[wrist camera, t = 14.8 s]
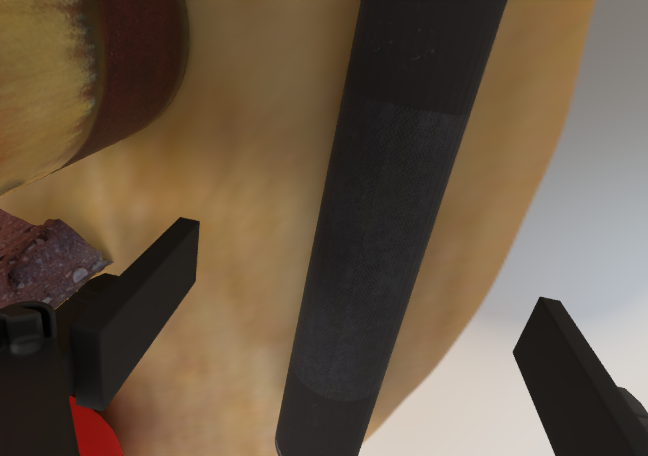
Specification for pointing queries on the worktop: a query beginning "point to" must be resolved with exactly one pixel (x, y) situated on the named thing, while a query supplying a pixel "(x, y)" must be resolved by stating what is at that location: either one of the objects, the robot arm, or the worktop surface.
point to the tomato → (93, 433)
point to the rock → (43, 261)
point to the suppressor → (379, 208)
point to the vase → (82, 78)
